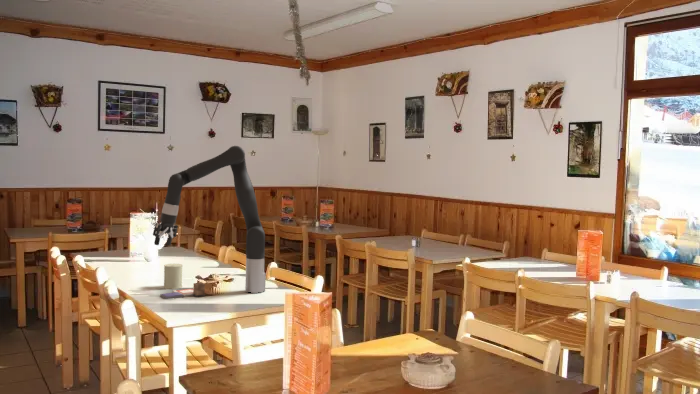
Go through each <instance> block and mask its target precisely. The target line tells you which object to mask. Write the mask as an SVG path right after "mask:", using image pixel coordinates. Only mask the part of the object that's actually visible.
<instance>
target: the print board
mask: <svg viewBox="0 0 700 394" xmlns="http://www.w3.org/2000/svg"><path fill="white" fill-rule="evenodd" d="M193 289H194V288H188V289H187V288H186V289H184V288H183V289H179V290H178V289H174V290H172V293H174V292H178V293H181V294H183V295H184V296H193Z"/></svg>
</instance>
